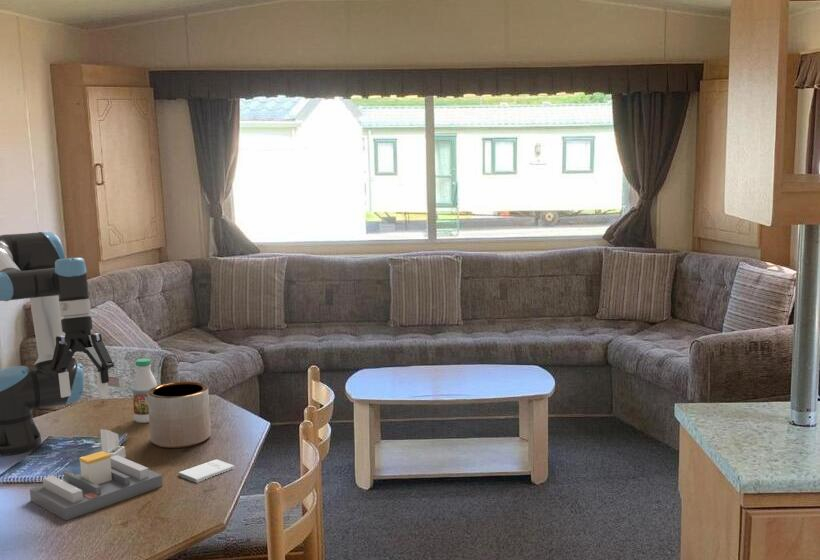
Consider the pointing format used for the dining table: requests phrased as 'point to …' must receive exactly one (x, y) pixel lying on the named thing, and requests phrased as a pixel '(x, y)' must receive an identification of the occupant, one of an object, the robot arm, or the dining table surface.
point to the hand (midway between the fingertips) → (84, 396)
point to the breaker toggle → (96, 467)
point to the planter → (179, 414)
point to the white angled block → (111, 443)
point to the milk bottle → (142, 390)
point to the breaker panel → (94, 489)
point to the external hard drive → (205, 470)
